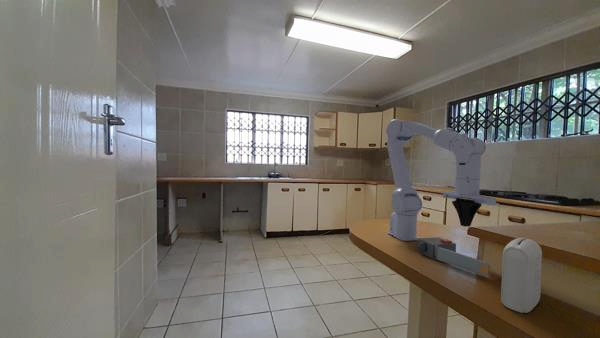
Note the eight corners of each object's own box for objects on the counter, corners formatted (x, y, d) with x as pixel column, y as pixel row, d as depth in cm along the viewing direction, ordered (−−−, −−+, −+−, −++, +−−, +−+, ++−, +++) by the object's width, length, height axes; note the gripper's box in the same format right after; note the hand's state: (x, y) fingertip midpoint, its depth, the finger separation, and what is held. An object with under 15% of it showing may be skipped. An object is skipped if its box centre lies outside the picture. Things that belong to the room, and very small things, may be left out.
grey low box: (414, 251, 70) (414, 236, 70) (438, 249, 72) (439, 235, 72) (429, 259, 64) (430, 243, 64) (455, 257, 66) (456, 241, 66)
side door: (435, 258, 64) (436, 245, 64) (489, 278, 53) (489, 262, 53) (434, 259, 64) (434, 245, 64) (487, 278, 53) (488, 262, 53)
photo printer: (514, 290, 49) (516, 232, 49) (543, 300, 45) (545, 238, 45) (497, 304, 43) (499, 239, 43) (528, 317, 40) (531, 246, 39)
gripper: (435, 177, 72) (433, 220, 72) (481, 180, 58) (479, 233, 58) (453, 177, 73) (452, 219, 73) (503, 180, 59) (501, 232, 59)
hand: (465, 225), depth 66 cm, fingers closed
